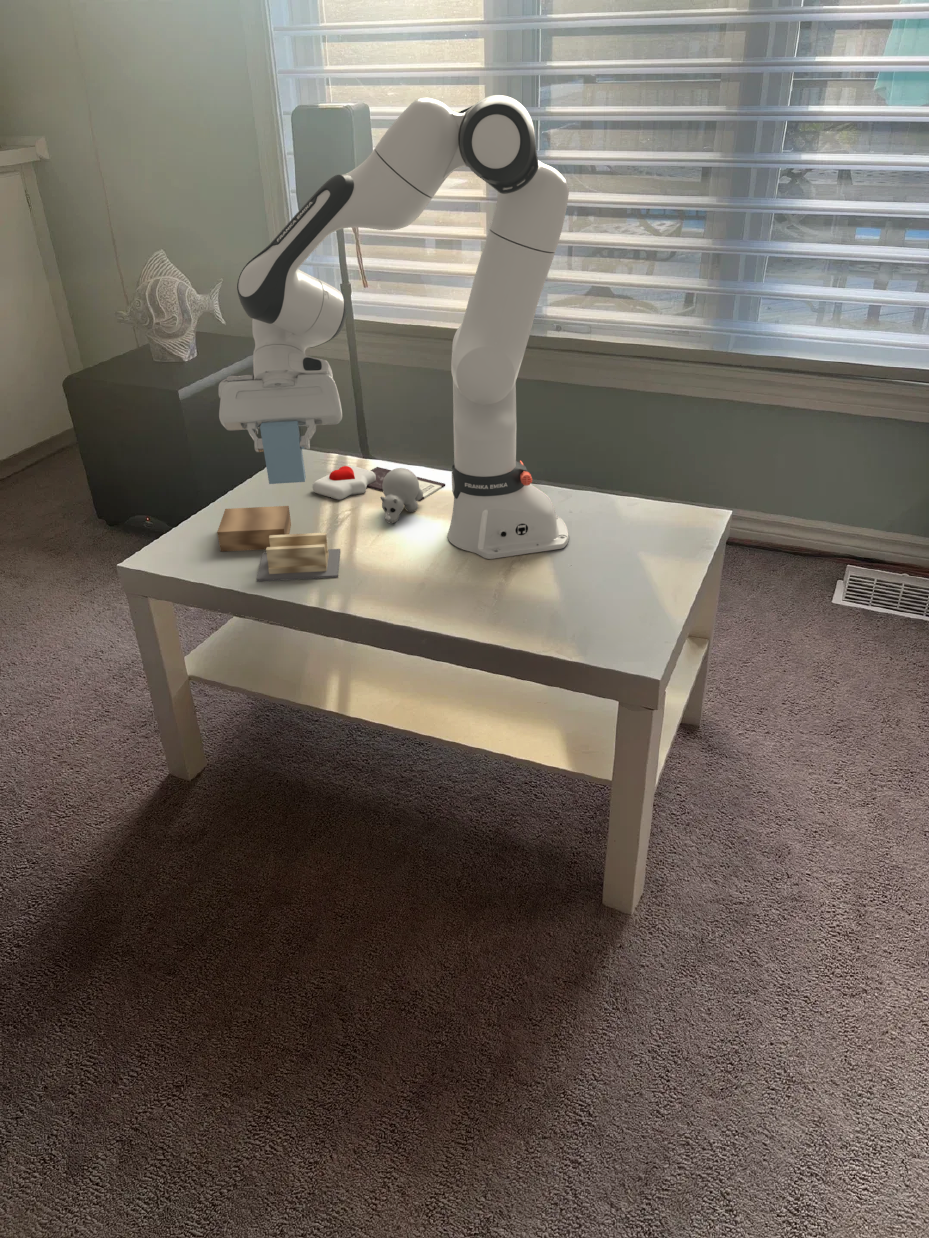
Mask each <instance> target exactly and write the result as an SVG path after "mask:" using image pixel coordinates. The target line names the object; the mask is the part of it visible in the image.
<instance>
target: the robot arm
mask: <svg viewBox="0 0 929 1238" xmlns="http://www.w3.org/2000/svg"><path fill="white" fill-rule="evenodd" d="M535 132H536V131H535V126H534V123H533V120H532V117H531V115H530V113H529V112H528V110H527V109H526V107H525V106H524V105H523V104H522V103H520V102H519V101H518V100H517V99H515V98H513V97H510V96H507V95H501V94H494V95H489V96H486V97H484V98H482V99H480V100H478V101H477V102H476V103H475V104H474V105H471V106H469V107H466V108H465V109H462V110H460V111H459V112H457V111H454V110H453V109H452V108H450V107H449V106H448V105H447V104H445V103H444V102H442V101H440V100H438V99H435V98H432V97H427V96H426V97H419V98H417V99H416V100H414V101H412V102H411V103H410V105H408V107H407V108H406V109H404V111H403V112H401V113H400V115H399V116H398V117H397V118H396V119H395V121H394V122H393V123H392V124H391V126H389V128H388V129H387V130H386V132H384V134H383V136H382V137H381V139H380V140H379V142H378V143H377V144H376V146H375V147H374V148H373V150H372V152H371V153H370V154H369V155H368V156H367V158H366V159H364V161H362V162H361V163H360V164H359V165H357V166H356V167H355V168H354V169H352V170H350V171H348V172H347V173H344V174H336V175H334V176H332V177H330V178H329V179H328V180H326V181H325V182H324V183H323V184H322V185H321V186H320V188H319V189H318V190H316V192H315V193H313V195H312V196H311V197H310V198H309V199H308V200H307V201H306V203H304V204H303V205H302V207H301V208H300V209H299V210H298V211H297V213H296V214H294V216H293V217H292V218H291V219H290V220H289V221H288V223H286V225H285V226H284V227H283V228H282V230H280V232H279V233H278V234H277V236H275V238H274V239H273V240H272V241H271V242H270V243H269V244H268V245H267V246H266V247H265V248H264V249H263V250H262V251H260V252H259V253H257V254H256V255H254V257H253V258H251V259H250V260H249V261H248V262H247V263H246V264H245V266H243V268H242V270H241V272H240V274H239V276H238V279H237V284H236V290H237V295H238V299H239V301H240V305H241V307H242V309H243V310H244V312H245V314H246V315H247V316H248V317H249V318H251V319H252V320H251V321H252V327H251V328H252V330H251V331H252V337H253V340H254V344H255V346H254V348H253V353H252V354H253V355H252V361H253V364H252V365H253V367H252V369H253V374H245V375H243V374H242V375H238V376H237V375H229V376H227V377H226V378H225V379H222V380H221V382H219V384H218V397H219V399H220V401H219V411H218V417H219V421H220V424H221V425H222V426H223V427H224V428H225V429H226V430H227V431H241V430H247V432H248V434H249V436H250V437H251V438H252V440H253V442H254V443H253V444H254V451H255V452H256V453H262V452H263V453H264V449H263V443H262V437H261V438H259V437H258V436H257V435H258V434H259V430H260V426H261V423H272V422H289V421H298V424H299V427H306V429H307V430H306V431H305V433H304V435H300V436H299V440H300V448H301V449H302V450H310V449H311V440H312V438H313V436H314V435H315V433H316V432H317V426H324V425H326V426H327V425H328V426H329V425H337V424H339V423H340V422H341V421H342V419H343V410H342V403H341V399H340V394H339V390H338V387H337V384H336V381H335V380H334V377H333V376H334V375H333V370H332V367H331V366H330V363H329V362H328V361H327V360H325V359H322V358H317V357H313V356H309V355H306V350H307V349H308V348H315V347H319V346H321V345H324V344H326V343H328V342H330V341H331V340H334V339H335V338H337V337H338V335H340V333H342V331H343V329H344V327H345V323H346V318H347V303H346V299H345V297H344V294H343V293H342V291H341V290H339V289H338V288H336V287H334V286H333V285H331V284H329V283H328V282H325V281H324V280H321V279H320V278H317V277H315V276H312V275H310V274H308V273H307V272H305V271H303V270H301V269H299V268H300V267H302V265H303V263H304V262H306V260H307V259H308V258H309V257H310V256H311V255H312V254H313V252H314V251H316V249H317V248H318V247H319V246H320V245H321V244H322V243H323V241H324V240H325V239H326V238H327V237H328V236H330V235H331V234H332V233H335V232H337V231H340V230H343V229H348V228H350V229H351V228H362V229H363V228H364V229H371V230H377V231H395V230H400V229H403V228H406V227H408V226H410V225H411V224H412V223H414V222H415V221H416V220H417V219H418V218H419V217H420V216H421V215H422V213H424V211H425V209H426V208H427V207H428V205H429V203H430V202H431V201H432V199H433V198H434V196H436V194H437V192H438V191H439V189H440V188H441V186H442V185H443V183H444V182H445V181H446V179H448V177H449V176H450V175H451V174H452V173H453V172H454V171H456V170H457V169H460V168H469V169H470V170H471V171H472V173H473V174H475V175H476V176H477V177H479V178H480V179H481V180H482V181H483V182H486V184H488V185H489V186H490V187H492V189H494V190H496V191H497V196H496V197H497V199H496V204H495V209H494V213H493V215H492V219H491V223H490V226H489V229H488V231H487V235H486V238H485V242H484V245H483V248H482V250H481V251H482V252H481V254H480V257H479V261H478V264H477V267H476V271H475V275H474V277H473V282H472V285H471V290H470V292H469V293H470V294H469V297H468V302H467V305H466V309H465V313H464V316H463V319H462V323H461V324H460V325H459V326H458V328H456V331H455V333H454V336H453V339H452V344H451V345H452V347H451V363H450V364H451V366H450V369H451V377H452V393H453V394H452V398H453V399H452V400H453V401H452V402H453V403H452V407H453V409H452V410H453V411H452V413H453V414H452V415H453V417H452V418H453V423H452V425H453V452H454V453H453V455H454V458H453V461H454V463H452V468H451V492H452V495H453V505H452V506H453V507H452V515H451V520H450V525H449V529H448V531H447V532H448V533H447V540H448V541H449V542H450V544H451V545H453V546H455V547H456V548H459V549H460V550H463V551H467V552H472V553H475V554H477V555H478V556H480V557H482V558H484V559H488V560H492V559H493V560H494V559H498V558H499V559H500V558H505V557H513V556H518V555H525V554H526V555H527V554H534V553H540V552H547V551H553V550H561V549H563V548H565V547H566V546H567V544H568V543H569V529H568V527H567V524H566V523H565V521H564V520H563V519H562V517H560V516H559V515H557V513H556V512H557V511H556V508H555V506H554V503H553V502H552V500H551V498H550V496H548V495H547V494H546V493H545V492H544V491H542V490H540V489H539V488H538V487H536V486H534V485H533V484H532V483H533V477H532V474H531V473H530V472H529V471H528V469H527V466H525V465H524V463H523V461H522V460H519V461H518V460H517V389H516V387H517V383H516V382H517V378H518V375H519V372H520V369H521V365H522V362H523V359H524V355H525V352H526V349H527V345H528V342H529V338H530V335H531V331H532V328H533V323H534V319H535V317H536V315H535V314H536V311H537V308H538V303H539V301H540V299H541V294H542V292H543V289H544V286H545V283H546V281H547V277H548V274H549V272H550V268H551V266H552V262H553V259H554V258H555V254H556V251H557V248H558V244H559V241H560V238H561V235H562V231H563V227H564V222H565V219H566V212H567V207H568V202H569V201H568V200H569V194H570V193H569V192H570V191H569V189H570V188H569V185H568V182H567V180H566V178H565V176H563V175H562V173H560V172H559V171H558V170H557V169H556V168H554V167H553V166H550V165H549V164H545V163H543V162H542V161H541V160H539V158H538V151H537V147H536V146H537V145H536V135H535Z"/></svg>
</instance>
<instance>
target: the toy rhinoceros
mask: <svg viewBox="0 0 929 1238" xmlns="http://www.w3.org/2000/svg"><path fill="white" fill-rule="evenodd" d="M390 470H391V471H390V472H389V473H388V474H387V475H386V476H385V478H384V480H383V485H382V488H383V491H382V492H383V495H384V496H385V497H384V496H380V497H379V498H380V500H381V501H382V502H381V507H382V509H383V511H384V520H385V521H386V522H387V523H389V524H396V523H397V522H398V521H399V518H400V514H401V512H402V511H403V510H404V508H405V511H407V512H408V513H413V512H416V511H417V510H418V507H419V504H418V502H419V501H418V500H420V499H421V498H422V497H423V492H422V490H421V489H420V488H419V481H418V479H417V477H418V476H417V475H416V474H415V473H414V472H413V471H411V470H410V469H408V468H405V467H396V468H394V469H390Z"/></svg>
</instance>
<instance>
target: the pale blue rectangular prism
mask: <svg viewBox="0 0 929 1238" xmlns="http://www.w3.org/2000/svg"><path fill="white" fill-rule="evenodd" d="M259 430H260V435H261V436H260V437H261V438H262V443H263V449H264V452H263V454H264V460H265V466H266V473H267V479H268V485H274V484H277V485H279V484H290V483H293V484H294V483H305V482H306V479H307V478H306V469H305V462H304V461H305V460H304V455H303V449H301V448H300V440H299V436H301V433H300V426H299V424H298V421H289V422H272V423H261V426H260V429H259Z"/></svg>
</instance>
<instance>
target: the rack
mask: <svg viewBox="0 0 929 1238" xmlns="http://www.w3.org/2000/svg"><path fill="white" fill-rule="evenodd" d="M327 538H328V537H327V532H311V533H310V532H309V533H289V534H286V535H270V536H269V542H270V547H267V548H266V549H265V551H266V553H267V560H268V566H269V569H268V570H269V574H280V573H300V572H319V571H327V564H328V556H329V551H328V549H329V547H328V539H327Z"/></svg>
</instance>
